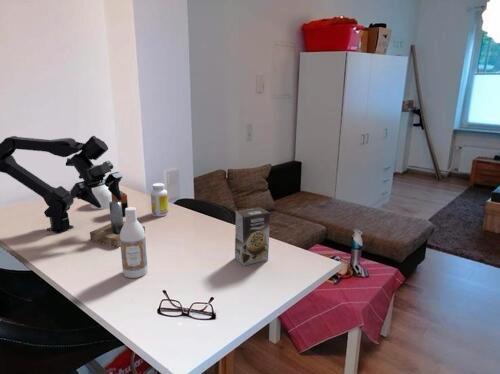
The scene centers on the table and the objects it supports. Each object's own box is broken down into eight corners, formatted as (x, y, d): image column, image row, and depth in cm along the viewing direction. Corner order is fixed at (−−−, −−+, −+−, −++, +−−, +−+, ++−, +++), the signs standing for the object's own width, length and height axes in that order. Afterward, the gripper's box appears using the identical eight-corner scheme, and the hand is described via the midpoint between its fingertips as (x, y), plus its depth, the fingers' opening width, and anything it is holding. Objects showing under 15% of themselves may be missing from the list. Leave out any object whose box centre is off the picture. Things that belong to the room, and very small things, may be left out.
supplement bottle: (170, 211, 159) (169, 182, 155) (165, 217, 153) (164, 187, 149) (155, 211, 160) (153, 181, 156) (149, 216, 153) (147, 186, 150)
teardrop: (98, 200, 172) (96, 174, 169) (121, 201, 171) (119, 176, 167) (85, 208, 162) (82, 181, 158) (109, 210, 160) (107, 182, 157)
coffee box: (243, 266, 115) (243, 217, 110) (234, 257, 120) (234, 210, 116) (269, 260, 119) (270, 212, 114) (259, 252, 124) (260, 206, 120)
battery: (118, 217, 152) (116, 194, 149) (112, 213, 157) (110, 190, 154) (129, 215, 154) (127, 192, 151) (123, 210, 159) (121, 188, 156)
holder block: (90, 240, 131) (89, 232, 130) (118, 227, 142) (118, 219, 141) (118, 248, 126) (117, 239, 125) (145, 234, 137) (144, 226, 136)
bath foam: (122, 280, 106) (115, 213, 101) (124, 268, 113) (118, 205, 107) (147, 277, 108) (142, 212, 102) (148, 266, 114) (143, 203, 109)
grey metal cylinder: (109, 238, 133) (106, 203, 129) (118, 233, 137) (115, 199, 133) (118, 240, 131) (115, 205, 128) (126, 236, 135) (123, 201, 131)
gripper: (72, 159, 121) (99, 198, 119) (116, 150, 136) (141, 184, 135) (58, 179, 126) (84, 216, 125) (103, 168, 142) (126, 201, 140)
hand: (111, 203), depth 131 cm, fingers open, 9 cm apart
